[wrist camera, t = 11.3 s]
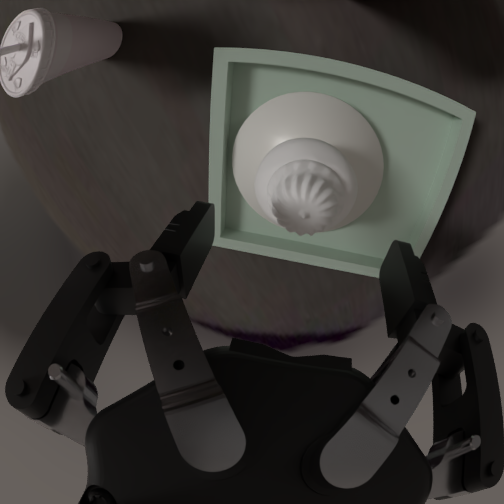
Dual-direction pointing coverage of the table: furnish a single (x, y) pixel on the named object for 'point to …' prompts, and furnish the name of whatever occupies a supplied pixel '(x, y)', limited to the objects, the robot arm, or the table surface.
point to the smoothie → (52, 47)
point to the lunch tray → (341, 137)
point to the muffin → (305, 185)
